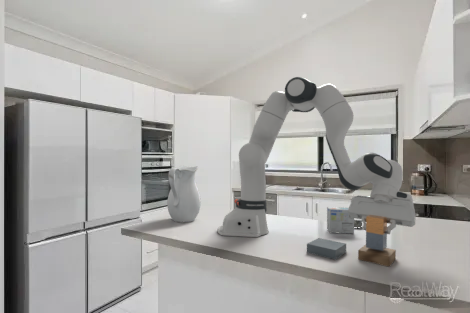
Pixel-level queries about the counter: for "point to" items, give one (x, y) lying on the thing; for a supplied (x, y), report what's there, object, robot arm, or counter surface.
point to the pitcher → (183, 194)
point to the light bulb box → (339, 220)
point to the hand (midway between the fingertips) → (376, 231)
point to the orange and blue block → (376, 232)
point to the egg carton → (357, 223)
